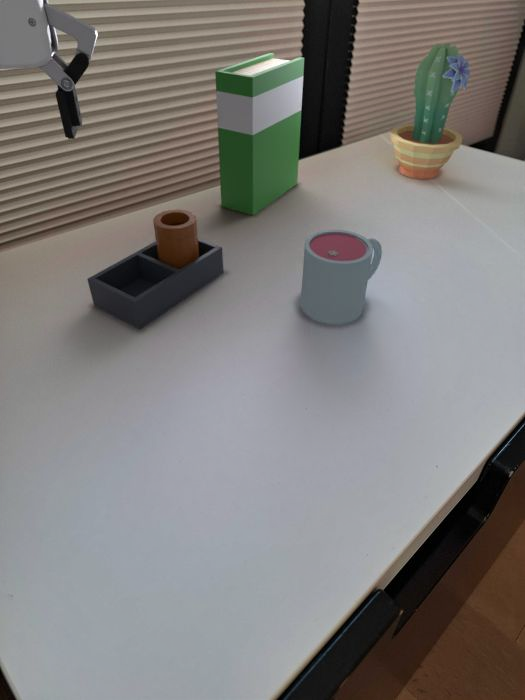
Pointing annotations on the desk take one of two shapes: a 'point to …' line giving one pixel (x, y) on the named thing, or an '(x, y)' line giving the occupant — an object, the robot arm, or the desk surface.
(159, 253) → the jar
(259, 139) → the hardback book
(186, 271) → the divided tray
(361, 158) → the desk surface
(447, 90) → the potted cactus
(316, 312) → the mug
